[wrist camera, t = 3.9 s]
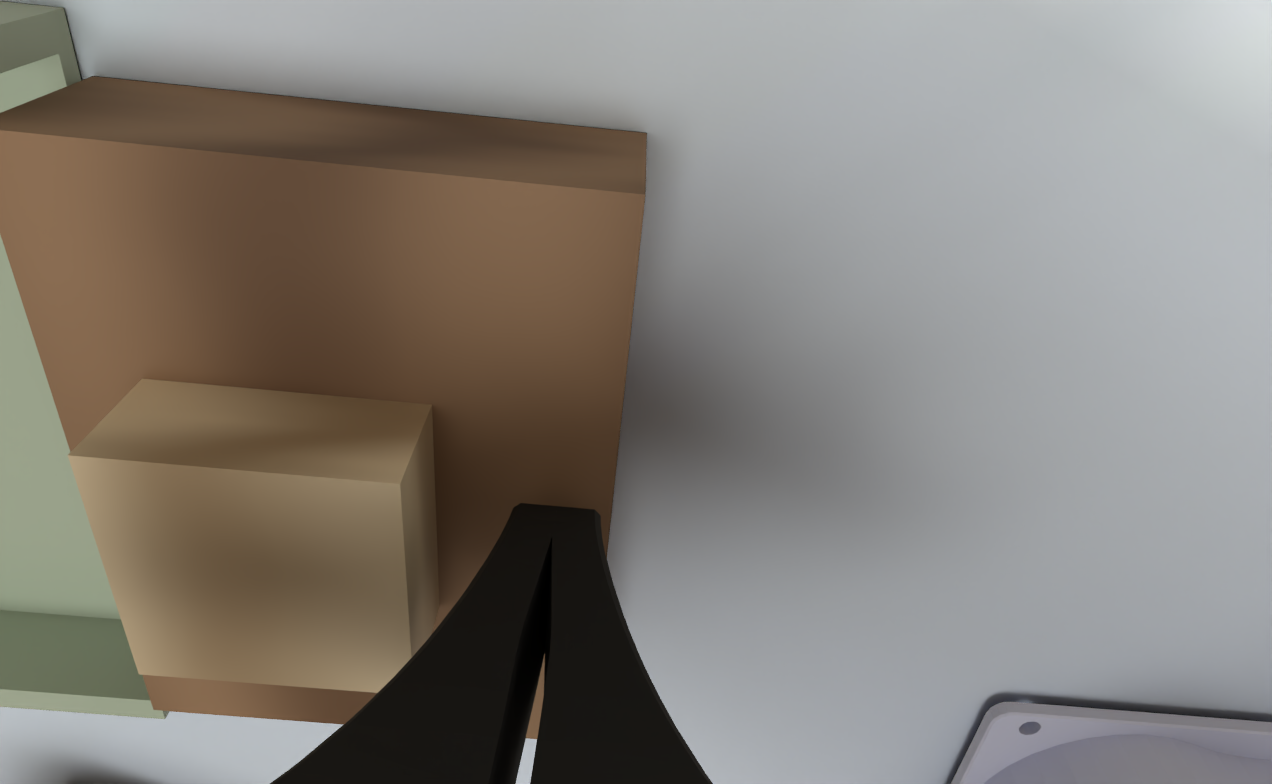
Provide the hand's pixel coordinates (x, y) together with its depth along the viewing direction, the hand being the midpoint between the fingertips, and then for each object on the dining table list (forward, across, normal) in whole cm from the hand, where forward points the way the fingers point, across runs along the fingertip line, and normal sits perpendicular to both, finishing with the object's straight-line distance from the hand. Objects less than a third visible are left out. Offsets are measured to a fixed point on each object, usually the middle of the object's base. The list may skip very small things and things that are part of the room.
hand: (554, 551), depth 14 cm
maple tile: (+1, +4, 0) cm, 4 cm away
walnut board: (+4, +4, 0) cm, 5 cm away
